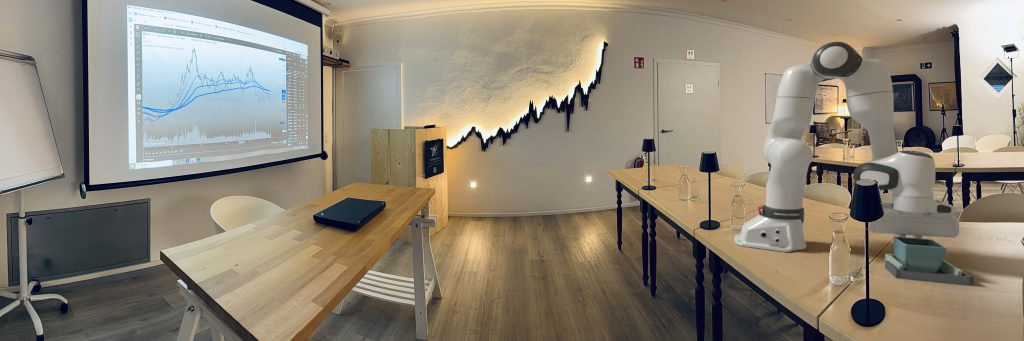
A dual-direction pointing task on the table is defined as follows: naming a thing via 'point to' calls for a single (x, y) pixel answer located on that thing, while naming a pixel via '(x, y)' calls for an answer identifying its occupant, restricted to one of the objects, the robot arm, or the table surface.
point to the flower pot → (919, 254)
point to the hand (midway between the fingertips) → (908, 248)
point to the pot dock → (930, 276)
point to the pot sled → (944, 267)
